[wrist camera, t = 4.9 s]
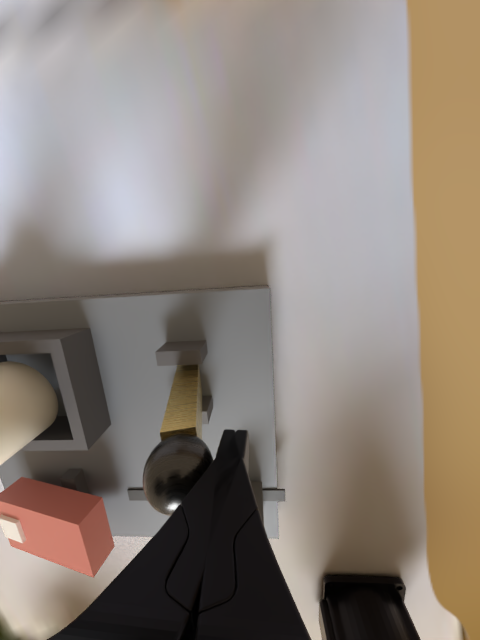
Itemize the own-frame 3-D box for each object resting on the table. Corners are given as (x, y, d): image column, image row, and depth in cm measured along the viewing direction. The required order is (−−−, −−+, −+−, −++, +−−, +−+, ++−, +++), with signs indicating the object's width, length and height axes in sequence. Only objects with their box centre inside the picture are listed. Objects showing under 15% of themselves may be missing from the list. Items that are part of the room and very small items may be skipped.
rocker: (102, 497, 14) (75, 529, 13) (114, 546, 15) (90, 581, 13) (21, 476, 16) (-12, 501, 14) (36, 521, 17) (7, 549, 15)
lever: (207, 358, 14) (212, 464, 6) (210, 392, 14) (219, 526, 7) (168, 363, 13) (126, 480, 6) (173, 397, 14) (140, 544, 6)
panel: (275, 284, 14) (284, 292, 10) (282, 510, 19) (290, 579, 14) (-24, 302, 16) (-119, 315, 12) (43, 508, 20) (-11, 570, 16)
